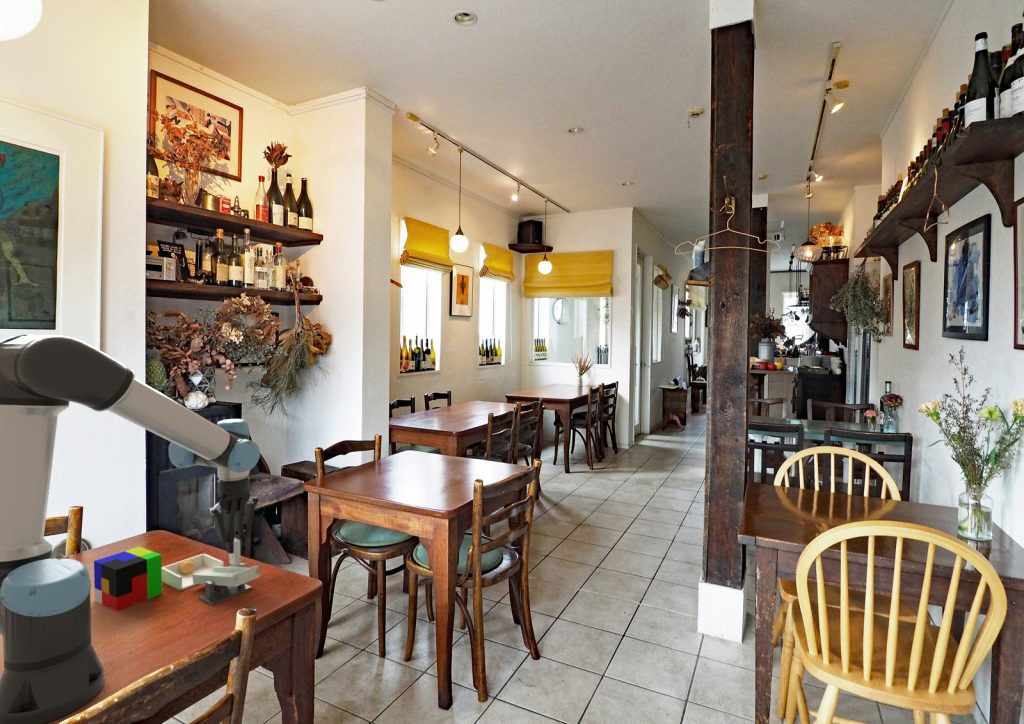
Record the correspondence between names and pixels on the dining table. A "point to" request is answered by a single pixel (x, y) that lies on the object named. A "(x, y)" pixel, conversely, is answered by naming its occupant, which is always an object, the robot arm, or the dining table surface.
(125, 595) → the puzzle toy
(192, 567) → the ball
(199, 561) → the tray
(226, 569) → the lever
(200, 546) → the dining table surface
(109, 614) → the dining table surface
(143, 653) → the dining table surface
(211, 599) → the fulcrum
